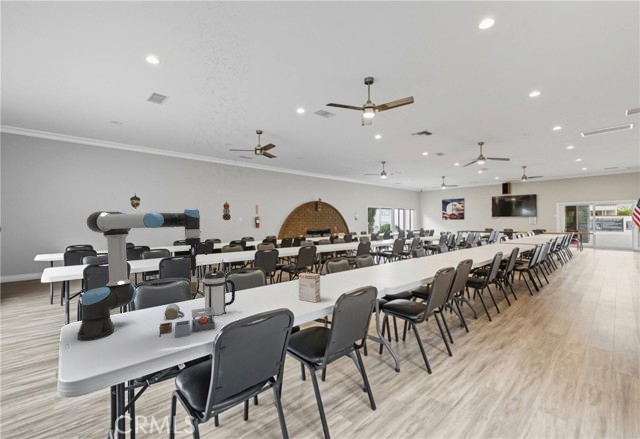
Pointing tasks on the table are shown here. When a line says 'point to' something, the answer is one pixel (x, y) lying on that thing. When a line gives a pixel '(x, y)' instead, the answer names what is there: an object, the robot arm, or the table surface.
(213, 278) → the coffee press
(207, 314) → the button base
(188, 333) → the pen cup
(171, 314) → the ceramic mug
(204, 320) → the button
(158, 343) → the table surface
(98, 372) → the table surface
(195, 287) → the dowel
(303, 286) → the coffeecake box
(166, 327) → the dowel holder
